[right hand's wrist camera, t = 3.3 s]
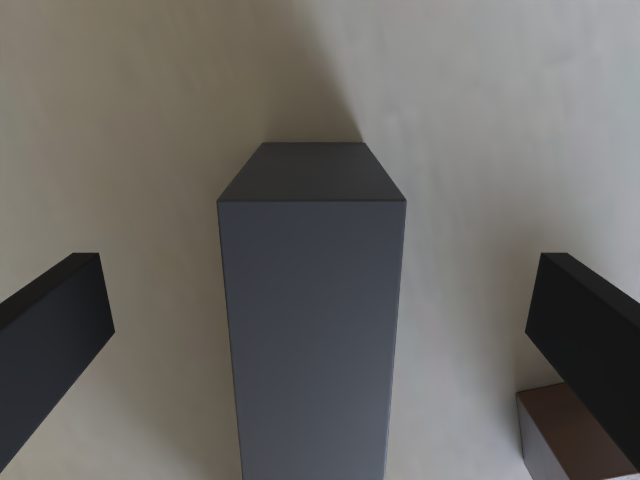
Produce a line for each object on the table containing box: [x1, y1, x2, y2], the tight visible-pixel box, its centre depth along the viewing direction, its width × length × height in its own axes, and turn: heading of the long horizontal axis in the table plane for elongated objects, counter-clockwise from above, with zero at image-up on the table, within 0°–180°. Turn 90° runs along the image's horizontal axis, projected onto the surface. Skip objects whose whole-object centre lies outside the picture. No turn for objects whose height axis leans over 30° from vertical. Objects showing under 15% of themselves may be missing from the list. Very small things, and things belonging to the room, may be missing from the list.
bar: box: [217, 143, 407, 480], centre depth 17 cm, size 24×4×8 cm, turn 0°
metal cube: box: [516, 383, 640, 480], centre depth 19 cm, size 5×5×5 cm
